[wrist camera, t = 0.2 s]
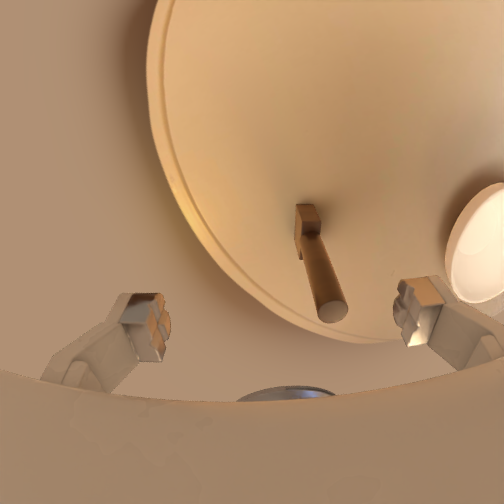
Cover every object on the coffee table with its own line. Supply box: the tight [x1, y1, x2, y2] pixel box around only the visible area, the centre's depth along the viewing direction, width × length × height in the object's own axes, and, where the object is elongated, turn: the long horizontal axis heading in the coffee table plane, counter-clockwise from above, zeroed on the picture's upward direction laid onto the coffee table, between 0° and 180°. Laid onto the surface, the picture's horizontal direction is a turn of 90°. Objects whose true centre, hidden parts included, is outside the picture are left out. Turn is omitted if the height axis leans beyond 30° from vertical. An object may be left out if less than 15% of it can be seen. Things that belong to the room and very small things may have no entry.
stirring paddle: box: [294, 204, 348, 323], centre depth 31 cm, size 5×3×17 cm, turn 1°
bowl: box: [445, 183, 504, 303], centre depth 36 cm, size 20×20×7 cm
